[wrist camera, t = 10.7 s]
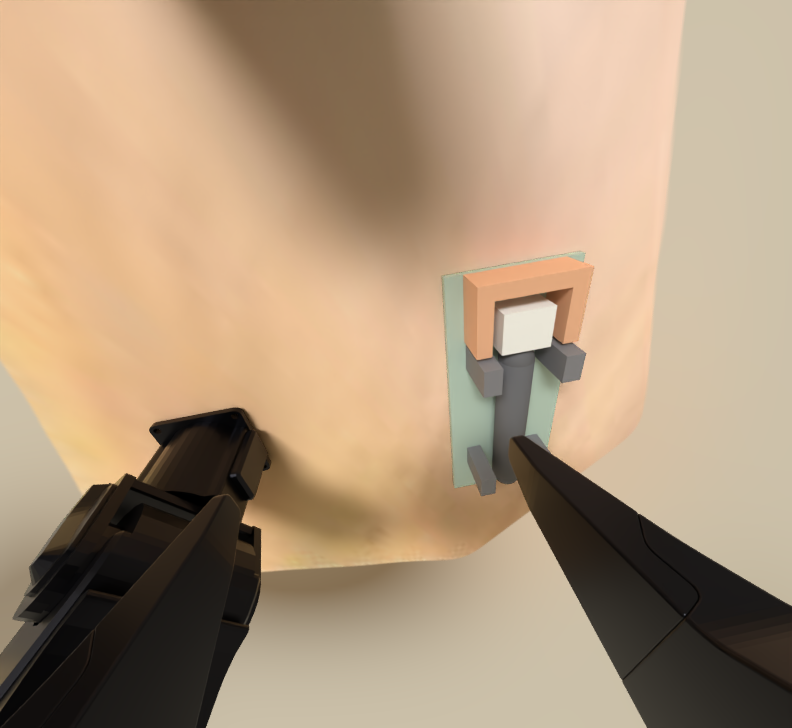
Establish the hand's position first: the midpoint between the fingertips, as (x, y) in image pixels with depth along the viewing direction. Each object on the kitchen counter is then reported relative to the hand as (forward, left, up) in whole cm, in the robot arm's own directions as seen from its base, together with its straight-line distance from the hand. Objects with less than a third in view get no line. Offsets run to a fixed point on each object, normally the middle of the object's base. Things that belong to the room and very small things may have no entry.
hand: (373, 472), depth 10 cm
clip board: (+10, -8, -12) cm, 18 cm away
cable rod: (+10, -9, -12) cm, 17 cm away
